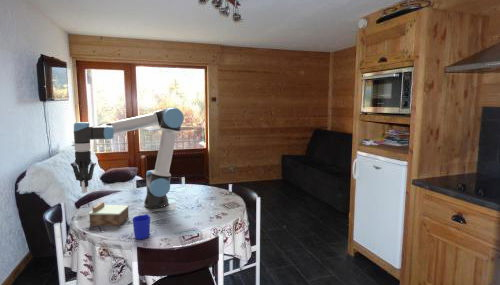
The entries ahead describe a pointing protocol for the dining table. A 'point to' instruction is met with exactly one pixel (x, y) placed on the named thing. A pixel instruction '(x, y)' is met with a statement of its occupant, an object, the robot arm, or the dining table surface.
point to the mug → (141, 226)
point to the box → (109, 219)
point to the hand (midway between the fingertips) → (84, 192)
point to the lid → (108, 209)
